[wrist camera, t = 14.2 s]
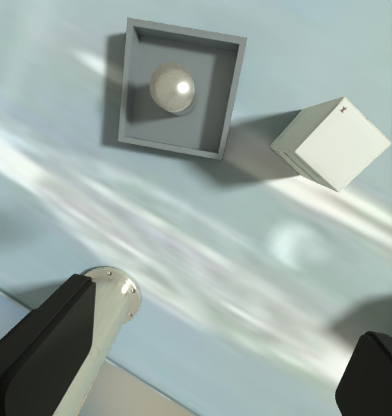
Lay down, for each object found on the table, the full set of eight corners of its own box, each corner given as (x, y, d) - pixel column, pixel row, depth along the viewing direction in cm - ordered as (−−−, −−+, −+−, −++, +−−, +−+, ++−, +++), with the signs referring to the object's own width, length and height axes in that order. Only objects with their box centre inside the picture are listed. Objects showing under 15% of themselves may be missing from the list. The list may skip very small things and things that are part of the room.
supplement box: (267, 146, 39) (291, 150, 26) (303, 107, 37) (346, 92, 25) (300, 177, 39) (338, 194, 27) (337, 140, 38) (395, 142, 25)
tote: (221, 158, 39) (222, 160, 36) (127, 141, 40) (117, 141, 36) (243, 48, 35) (247, 37, 31) (136, 30, 35) (127, 17, 32)
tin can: (194, 118, 37) (189, 114, 30) (161, 113, 37) (147, 106, 30) (200, 81, 36) (196, 66, 28) (165, 75, 36) (152, 58, 28)
